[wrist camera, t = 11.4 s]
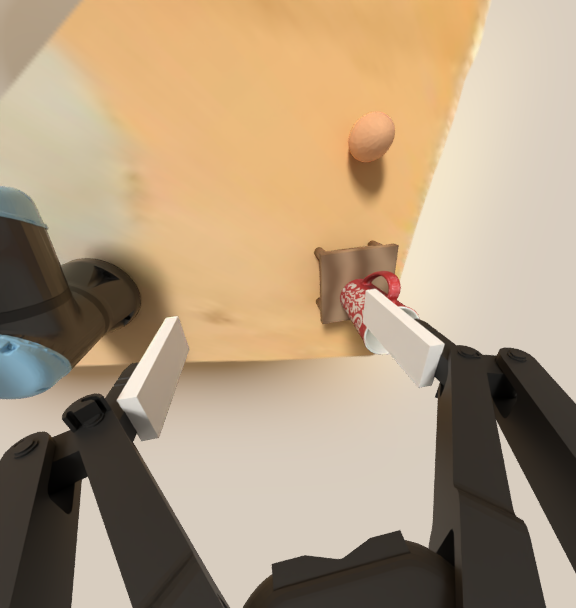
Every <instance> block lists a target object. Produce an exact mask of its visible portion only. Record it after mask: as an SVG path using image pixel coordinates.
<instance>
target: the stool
mask: <svg viewBox="0 0 576 608" xmlns="http://www.w3.org/2000/svg"><path fill="white" fill-rule="evenodd" d="M398 246H399V245H396V244H388V245H382V244H380V243H378V242H375V241H370V242H369V243H368V246H365V247H357V248H349V249H342V250H334V251H326V252H325V251H324V250H323V249H322V248H320V247H318V248H316V249H315V251H314V254H315V255H316V257H317V258H318V259H319V268H320V298H318V299H317V300H316V304H317V305H318V307H319V309H320V311H321V322H322V324H326V323H333V322H339V321H345V320H351V319H350V318H349V316H348V314H347V313H346V311H345V309H344V308H343V306H342V304H341V302H340V294H341V291H342V289H343V288H344V287H345V286H346V284H348V283H349V282H351V281H353V280H355V279H364V278H365V277H367V276H368V275H370V274H372V273H374V272H378V271H389V272H392V273H393V274H395V268H396V260H397V253H398ZM372 284H374V285H375V286H377V287H378V288H380V289H381V290H382V291H384V292H385V293H387V294H388V288H389V287H388V283H387V281H386V279H385V278H384V277H382V276H379V277H377V278H375V279H374V280H373V281H372Z"/></svg>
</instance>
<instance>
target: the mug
mask: <svg viewBox="0 0 576 608" xmlns="http://www.w3.org/2000/svg"><path fill="white" fill-rule="evenodd" d="M379 276H382V277H384V278H385V279H386V281H387V283H388V287H389V288H388V294H387V293H385V292H384V291H382V290H381V289H380V288H378V287H377V286H375V285H374V284H372V281H373V280H374V279H375V278H377V277H379ZM400 288H401V287H400V281H399V279H398V277H397V276H396V275H395V274H393V273H392V272H389V271H378V272H374V273H372V274H370V275H368V276H367V277H365V278H364V279H355V280H353V281H351V282H349V283H348V284H346V286H345V287H344V288H343V289H342V291H341V294H340V302H341V304H342V306H343V308H344V309H345V311H346V313H347V314H348V316H349V318H350V319H351V321H352V323H353V324H354V326H355V328H356V329H357V331H358V333H359V334H360V336H361V337H362V339H363V341H364V344H365V346H366V348H367V349H368V350H369V351H371V352H372V353H375V354H379V355H387V354H389V353H388V351H387V350H386V349H385V348H384V347H383V346H382V344H381V343H380V342H379V341H378V340H377V339H376V337H375V336H374V335H373V334H372V333H371V331H370V330H369V329H368V328H367V327H366V326H365V324H364V323H363V313H364V303H365V293H366V290H371V289H377V290H378V291H379V292H380V293H382V294H383V295H384V296H385V297H387V298H388V299H389V300H390V301H392V302H393V303H394V304H395V305H397V306H398V307H399V308H400V309H402V310H403V311H404V312H405V313H407V314H408V315H409V316H410V317H412V318H413V319H419V316H418V314H417V313H416V311H415V310H413V309H411V308H409V307H406V306H405V305H403V304H402V303H400V302H399V301H397V298H398V296H399V294H400Z"/></svg>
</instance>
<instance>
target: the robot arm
mask: <svg viewBox="0 0 576 608" xmlns="http://www.w3.org/2000/svg"><path fill="white" fill-rule="evenodd" d="M47 229H48V227H47V225H46V224H44V222H43V220H42V218H41V216H40V214H39V212H38V209H37V207H36V205H35V203H34V201H33V200H32V199H31V198H30V197H29V196H28V195H27V194H25V193H23V192H22V191H20V190H17V189H14V188H10V187H5V186H0V399H21V398H27V397H32V396H35V395H38V394H41V393H43V392H45V391H46V390H48V389H50V388H51V387H52V386H53V385H55V384H56V383H57V382H58V381H59V380H60V379H61V378H62V377H64V376H66V375H67V374H68V373H69V372H70V371H71V370H72V368H73V367H74V366H75V365H76V364H77V363H78V362H79V361H80V360H81V359H82V358H83V357H84V356H85V355H86V354H87V353H88V351H89V350H90V349H91V348H92V347H93V346H94V345H95V344H96V343H97V342H98V341H99V340H100V339H101V338H102V337H103V336H104V335H105V334H108V333H110V332H113V331H115V330H117V329H120V328H122V327H124V326H125V325H127V324H128V323H129V322H130V321H131V320H132V319H133V318H134V317H135V316H136V314H137V313H138V311H139V308H140V304H141V299H140V294H139V291H138V288H137V286H136V285H135V283H134V282H133V280H132V279H131V278H130V277H129V276H128V275H127V274H126V273H125V272H123V271H122V270H121V269H119V268H118V267H116V266H114V265H112V264H110V263H107V262H105V261H101V260H97V259H89V258H84V259H76V260H73V261H70V262H68V263H65V264H63V265H60V262H59V260H58V257H57V255H56V252H55V250H54V247H53V245H52V242H51V240H50V237H49V235H48V233H47ZM363 323H364V324H365V326H366V327H367V328H368V329H369V330H370V331H371V333H372V334H373V335H374V336H375V337H376V339H377V340H378V341H379V342H380V343H381V344H382V346H383V347H384V348H385V349H386V350H387V351H388V353H389V354H390V355H391V356H392V357H393V358H394V360H395V361H396V362H397V363H398V364H399V365H400V366H401V368H402V369H403V370H404V371H405V372H406V374H407V375H408V376H409V377H410V378H411V379H412V380H413V382H414V383H415V384H416V385H417V386H418V387H419V388H420V387H425V386H431V385H432V383H433V380H434V377H436V378H437V379H438V380H439V381H440V384H439V387H438V390H437V393H436V396H435V397H436V398H438V408H437V409H438V410H437V432H436V433H437V434H436V458H435V481H434V506H433V525H432V531H431V536H430V542H429V549H428V548H426V547H424V546H422V545H420V544H417V543H414V542H411V541H407V540H404V538H403V536H402V534H401V531H400V530H399V531H395V532H392V533H388V534H384V535H380V536H376V537H372V538H370V539H368V540H367V541H366V542H364V543H363V544H362V545H360V546H359V547H358V548H356V549H355V550H353V551H352V552H351V553H350V554H348V555H347V556H345V557H344V558H342V559H332V558H323V557H314V556H306V555H305V556H300V557H297V558H293V559H289V560H285V561H282V562H278V563H274V564H272V575H270V576H269V577H268V578H266V579H265V580H264V581H263V582H262V583H261V584H260V585H259V586H258V587H257V588H256V589H255V591H254V592H253V593H252V594H251V596H250V597H249V599H248V600H247V602H246V603H245V605H244V606H243V608H546V605H545V601H544V597H543V592H542V588H541V583H540V579H539V574H538V570H537V566H536V561H535V557H534V552H533V548H532V543H531V539H530V535H529V532H528V529H527V526H526V524H525V523H524V521H523V520H521V519H520V518H518V517H516V515H515V513H514V510H513V506H512V501H511V496H510V491H509V485H508V480H507V475H506V470H505V465H504V459H503V454H502V449H501V444H500V439H499V434H498V428H497V423H496V420H497V422H498V424H499V426H500V428H501V430H502V432H503V434H504V436H505V438H506V440H507V442H508V444H509V445H510V447H511V449H512V451H513V453H514V455H515V457H516V459H517V461H518V463H519V465H520V467H521V469H522V471H523V472H524V474H525V476H526V478H527V480H528V482H529V484H530V486H531V488H532V490H533V492H534V494H535V495H536V497H537V499H538V501H539V503H540V505H541V507H542V509H543V511H544V513H545V515H546V517H547V519H548V521H549V523H550V524H551V526H552V528H553V530H554V532H555V534H556V536H557V538H558V540H559V541H560V543H561V546H562V548H563V549H564V551H565V553H566V555H567V557H568V559H569V561H570V563H571V565H572V567H573V569H574V571H575V573H576V404H575V403H574V401H573V400H572V399H571V398H570V397H569V396H568V395H567V394H566V393H565V392H564V390H563V389H562V388H561V387H560V386H559V385H558V384H557V383H556V381H554V379H553V378H552V377H551V376H550V375H549V374H548V373H547V372H546V370H545V369H544V368H543V367H542V366H541V365H540V364H539V363H538V362H537V360H536V359H535V358H533V357H532V356H531V355H530V354H528V353H526V352H524V351H522V350H519V349H514V348H502V349H500V350H499V352H498V354H497V356H494V355H482V354H481V353H480V352H479V351H477V350H475V349H473V348H471V347H467V346H462V345H455V344H454V343H453V342H451V341H450V340H449V339H447V338H446V337H445V336H443V335H442V334H441V333H439V332H438V331H437V330H436V329H434V328H432V327H431V326H430V325H429V324H428V323H426V322H424V321H422V320H420V319H413V318H412V317H410V316H409V315H408V314H407V313H405V312H404V311H403V310H402V309H400V308H399V307H398V306H397V305H395V304H394V303H393V302H392V301H390V300H389V299H388V298H387V297H385V296H384V295H383V294H382V293H380V292H379V291H378V290H377V289H371V290H366V293H365V303H364V313H363ZM188 351H189V346H188V343H187V340H186V337H185V335H184V332H183V329H182V326H181V323H180V320H179V317H178V316H175V317H167V318H166V319H165V320H164V322H163V324H162V325H161V327H160V329H159V330H158V332H157V334H156V335H155V337H154V339H153V340H152V342H151V344H150V345H149V347H148V349H147V350H146V352H145V354H144V355H143V357H142V359H141V360H140V362H138V363H132V364H131V365H129V366H128V367H127V368H126V369H125V370H124V371H123V372H122V374H121V375H120V377H119V378H118V380H117V381H116V383H115V384H114V387H112V389H111V390H110V392H109V393H108V395H107V396H106V398H104V396H102V395H101V394H91V395H87V396H85V397H83V398H80V399H79V400H77V401H76V402H74V403H72V404H71V405H70V406H69V407H68V408H67V409H66V410H65V412H64V413H63V415H62V420H63V421H64V422H65V424H66V425H67V426H68V427H69V428H70V430H69V431H67V432H64V433H62V434H60V435H57V436H54V437H51V436H50V435H49V434H48V433H46V432H37V433H34V434H31V435H29V436H27V437H25V438H23V439H21V440H20V441H18V442H17V443H16V444H14V445H13V446H12V447H11V448H10V449H9V450H7V452H5V454H4V455H3V457H2V458H1V460H0V608H71V603H72V591H73V579H74V578H73V577H74V567H75V553H76V543H77V530H78V519H79V507H80V494H81V482H82V479H84V478H86V477H88V478H89V480H90V484H91V487H92V489H93V493H94V495H95V498H96V501H97V504H98V507H99V510H100V513H101V516H102V519H103V522H104V525H105V528H106V530H107V534H108V537H109V539H110V542H111V545H112V548H113V551H114V554H115V557H116V560H117V563H118V566H119V569H120V572H121V575H122V578H123V580H124V583H125V586H126V589H127V592H128V595H129V598H130V601H131V604H132V607H133V608H230V607H229V605H228V604H227V602H226V601H225V599H224V597H223V595H222V594H221V592H220V591H219V589H218V587H217V586H216V584H215V582H214V581H213V579H212V577H211V576H210V574H209V572H208V570H207V569H206V567H205V565H204V564H203V562H202V560H201V558H200V557H199V555H198V553H197V551H196V550H195V548H194V546H193V544H192V543H191V541H190V539H189V538H188V536H187V534H186V532H185V531H184V529H183V527H182V526H181V524H180V522H179V520H178V519H177V517H176V516H175V513H174V512H173V510H172V508H171V507H170V505H169V503H168V501H167V500H166V498H165V496H164V495H163V493H162V491H161V490H160V488H159V486H158V484H157V482H156V481H155V479H154V477H153V476H152V474H151V472H150V470H149V469H148V467H147V465H146V464H145V462H144V460H143V458H142V457H141V455H140V453H139V451H138V450H137V448H136V446H135V445H134V443H133V441H134V438H135V436H136V434H137V435H138V436H139V438H140V439H141V441H145V440H150V439H155V438H159V436H160V433H161V430H162V427H163V424H164V421H165V419H166V415H167V413H168V410H169V407H170V404H171V401H172V398H173V395H174V392H175V389H176V386H177V383H178V380H179V378H180V375H181V372H182V369H183V366H184V363H185V360H186V357H187V354H188Z"/></svg>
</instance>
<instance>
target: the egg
mask: <svg viewBox="0 0 576 608" xmlns="http://www.w3.org/2000/svg"><path fill="white" fill-rule="evenodd" d="M394 135H395V126H394V123H393V121H392V119H391V118H390V117H389V116H388V115H387V114H385V113H383V112H380V111H378V112H370V113H368V114H366V115H364V116H362V117H361V118H360V119H359V120H358V121H357V122H356V123H355V124H354V126H353V127H352V130H351V132H350V135H349V141H348V143H349V150H350V152H351V154H352V155H353V157H354V158H355V159H357V160H359V161H361V162H370V161H374V160H376V159H378V158H380V157H381V156H383V155H384V154H385V153H386V152H387V150H388V149H389V148H390V146H391V144H392V142H393V139H394Z"/></svg>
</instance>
